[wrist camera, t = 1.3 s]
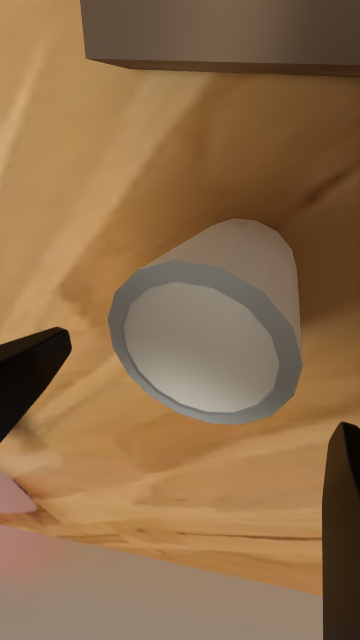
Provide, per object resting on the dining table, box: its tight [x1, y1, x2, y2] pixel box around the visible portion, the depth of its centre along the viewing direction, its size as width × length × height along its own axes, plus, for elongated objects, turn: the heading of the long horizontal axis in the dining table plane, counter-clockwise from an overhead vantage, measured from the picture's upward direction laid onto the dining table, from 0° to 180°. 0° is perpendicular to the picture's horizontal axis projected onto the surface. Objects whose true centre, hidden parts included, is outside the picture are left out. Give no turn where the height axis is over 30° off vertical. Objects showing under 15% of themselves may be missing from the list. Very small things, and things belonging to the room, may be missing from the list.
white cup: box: [108, 218, 303, 425], centre depth 13 cm, size 7×7×7 cm
